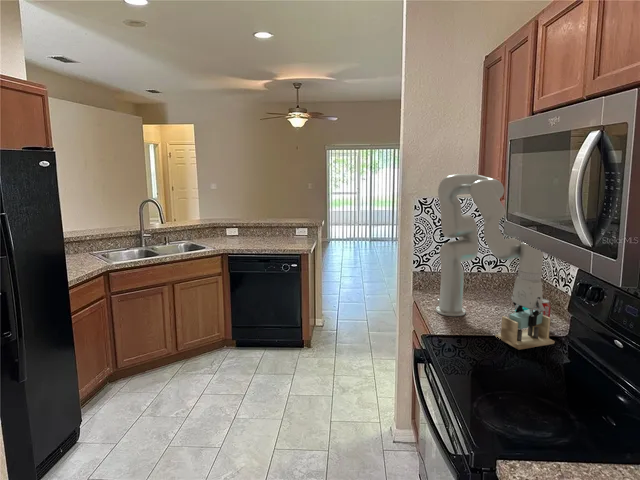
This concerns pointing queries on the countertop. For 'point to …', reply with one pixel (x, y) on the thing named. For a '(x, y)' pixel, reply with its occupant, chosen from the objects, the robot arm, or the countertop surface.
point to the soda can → (546, 307)
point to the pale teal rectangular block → (524, 318)
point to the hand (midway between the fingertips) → (525, 322)
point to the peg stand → (525, 334)
